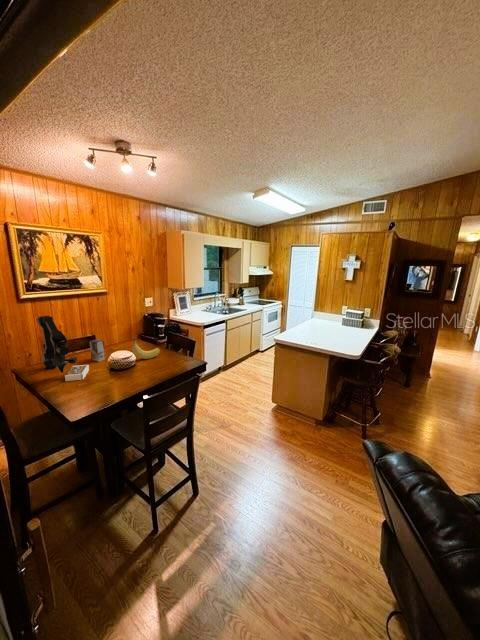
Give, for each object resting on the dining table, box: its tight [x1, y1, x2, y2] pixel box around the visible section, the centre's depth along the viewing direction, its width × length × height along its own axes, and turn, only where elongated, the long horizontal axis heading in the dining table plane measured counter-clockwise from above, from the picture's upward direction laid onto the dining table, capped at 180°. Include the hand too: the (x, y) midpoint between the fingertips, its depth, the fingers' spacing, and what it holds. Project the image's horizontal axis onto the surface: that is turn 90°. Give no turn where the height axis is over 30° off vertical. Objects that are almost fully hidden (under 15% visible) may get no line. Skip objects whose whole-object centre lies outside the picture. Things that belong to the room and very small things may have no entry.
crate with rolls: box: [67, 365, 84, 375], centre depth 188 cm, size 7×12×5 cm, turn 16°
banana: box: [131, 337, 161, 360], centre depth 221 cm, size 23×6×20 cm, turn 128°
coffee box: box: [89, 338, 106, 362], centre depth 216 cm, size 9×6×16 cm
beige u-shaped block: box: [64, 364, 90, 382], centre depth 188 cm, size 11×17×4 cm, turn 16°
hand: (62, 372), depth 185 cm, fingers closed
